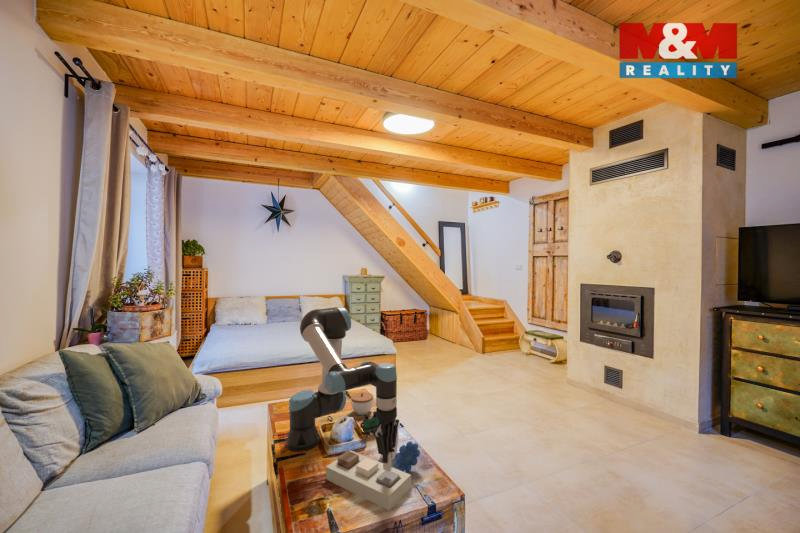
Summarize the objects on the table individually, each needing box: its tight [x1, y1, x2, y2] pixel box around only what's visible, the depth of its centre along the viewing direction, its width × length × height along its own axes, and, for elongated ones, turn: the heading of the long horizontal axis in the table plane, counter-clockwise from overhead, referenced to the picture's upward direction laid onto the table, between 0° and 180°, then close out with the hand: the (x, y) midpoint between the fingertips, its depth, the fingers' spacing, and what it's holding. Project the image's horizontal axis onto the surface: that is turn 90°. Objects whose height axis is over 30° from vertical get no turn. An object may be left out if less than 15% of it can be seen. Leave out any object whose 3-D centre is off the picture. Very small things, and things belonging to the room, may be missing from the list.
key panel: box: [325, 450, 412, 511], centre depth 133 cm, size 31×14×5 cm, turn 55°
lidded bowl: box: [350, 391, 374, 416], centre depth 195 cm, size 13×13×11 cm
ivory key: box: [356, 458, 378, 479], centre depth 133 cm, size 6×6×4 cm
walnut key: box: [337, 450, 359, 470], centre depth 138 cm, size 6×6×4 cm
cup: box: [380, 428, 400, 461], centre depth 151 cm, size 9×9×12 cm
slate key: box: [377, 470, 400, 488], centre depth 127 cm, size 6×6×4 cm
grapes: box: [393, 441, 421, 473], centre depth 140 cm, size 12×7×12 cm, turn 115°
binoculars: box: [359, 411, 379, 438], centre depth 172 cm, size 9×11×10 cm
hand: (387, 469), depth 127 cm, fingers closed
